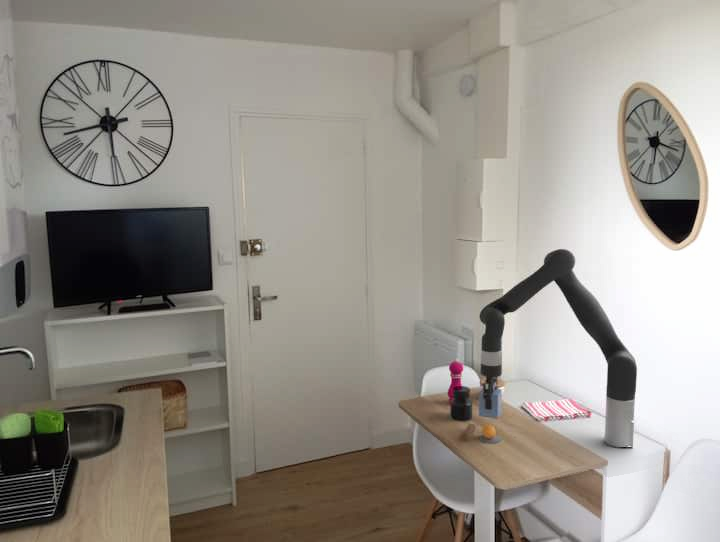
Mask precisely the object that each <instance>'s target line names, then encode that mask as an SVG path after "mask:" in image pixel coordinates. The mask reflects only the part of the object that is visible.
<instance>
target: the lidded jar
mask: <svg viewBox="0 0 720 542" xmlns="http://www.w3.org/2000/svg"><path fill="white" fill-rule="evenodd" d="M485 380H486V377H485V378H481V379H479V389H480V390H479V391H481V390H482V388H483V384H484V381H485ZM505 384H506V382H505V381H504V379H499V378H498V389H502V396H503V395H504V393H505Z"/></svg>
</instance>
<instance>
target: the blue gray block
mask: <svg viewBox="0 0 720 542" xmlns="http://www.w3.org/2000/svg"><path fill="white" fill-rule="evenodd" d="M491 391H492V390H491ZM487 396H489V394H487ZM502 397H503V395H502V389H494V394H492V409H491V410H488V409H485V399H483V388H482V390H479V392H478V416H479V417H480V418H481V417H482V418H488V419H497V420H498V419H499V417H500V416H501V414H502V410H503V409H502V405H503V404H502V400H503V399H502Z"/></svg>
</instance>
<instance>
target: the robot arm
mask: <svg viewBox="0 0 720 542" xmlns="http://www.w3.org/2000/svg"><path fill="white" fill-rule="evenodd" d="M575 265H576V257H575V255H574V254H573V252H571V250H568V249H564V248H558V249H555V250H552V251H550V252H549V253H547V254H546V255H545V256H544V259H543V264H542V266H540V267H539V268H538V269H537V270H536V271H534V272H533V273H532V274H530V275H529V276H528V277H526V278H524V279H523V280H521V281H520V282H518V283H517V284H516V285H513V287H512V288H511V289H509V290H508V291H507V292H506V293H504V294H503V295H502V296H500V297H499V298H496V299H495V300H494V301H492V302H490V303H488V304H486V305H485V306H484V307H483V308H482V309H481V311H480V312H479V321H480V322H481V323H482V324H483V325H485V331H484V333H483V334H482V337H481V351H480V375H481V376H483V377H485V378H486V380H485V381H484V384H483V399H485V409H488V410H491V409H492V394H494V389H498V379H499V377H500V376H502V374H503V373H502V371H503V369H502V368H503V356H502V355H503V353H502V338H503V335H504V329H505V325H506V320H505V315H506V314H509V313H515V312H516V311H518V310H519V309H520V308H521V307H522V306H524V305H525V304H527V302H529V301H530V300H531V299H532V298H534V296H535V295H537V294H538V293H540V291H541V290H543V289H544V288H545V287H547V286H548V285H549V284H551V283H552V282H554V283H555V284H556V285H557V286H558V289H560V291H561V292H562V294H563V297H565V299H566V301H567V304H568V305H569V307H570V308H571V310H572V312H573V314H574V316H575V317H576V319H577V320H578V322H579V324H580V325H581V326H582V328H583V329H584V331H586V333H587V334H588V335H589V336H590V337H591V339H592V340H594V341H595V342H596V344H597V346H598V348H599V349H600V350H601V352H602V355H603V356H604V358H605V361H606V363H607V374H606V375H607V376H606V377H607V378H606V379H607V380H606V397H605V419H604V420H605V421H604V422H605V423H604V426H605V427H604V442H605V444H607V445H609V446H611V445H612V446H611V447H614V446H617V447H616V448H618V447H628V446H631V447H634V431H635V430H634V429H635V404H636V403H635V402H636V400H635V399H636V391H637V375H638V371H637V370H638V368H637V367H638V366H637V362H636V359H635V357H634V355H633V354H632V353H631V352H630V351H629V350H628V348H627V347H626V346H625V345H624V343H623V342H622V340H621V339H620V338H619V336H618V334H617V333H616V331H615V329H614V327H613V325H612V323H611V321H610V318H609V317H608V315H607V313H606V311H605V310H604V308H603V307H602V305H601V303H600V302H599V301H598V299H597V297H596V296H594V295H593V293H592V292H591V291H589V289H588V288H587V287H585V286H584V284H582V283H581V281H580V280H579V279H578V278H577V276H576V273H575V272H574V270H573V269H574V267H575ZM491 390H492V391H491ZM487 394H489V396H487Z"/></svg>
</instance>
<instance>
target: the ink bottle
mask: <svg viewBox="0 0 720 542" xmlns="http://www.w3.org/2000/svg"><path fill="white" fill-rule="evenodd" d="M470 398H471V388H470V387H468V386H463V385H462V386H456V387H454V388H453V399H452V400H451V402H450V404H449V407H450V410H449V412H450V415H449V416H450V418H451V419H452V420H455V421H461V422H467V420H468V421H470V420H472V418H473V410H474V409H473V408H474V407H473V403H474V402H473V401H472V400H471V399H470Z"/></svg>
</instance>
